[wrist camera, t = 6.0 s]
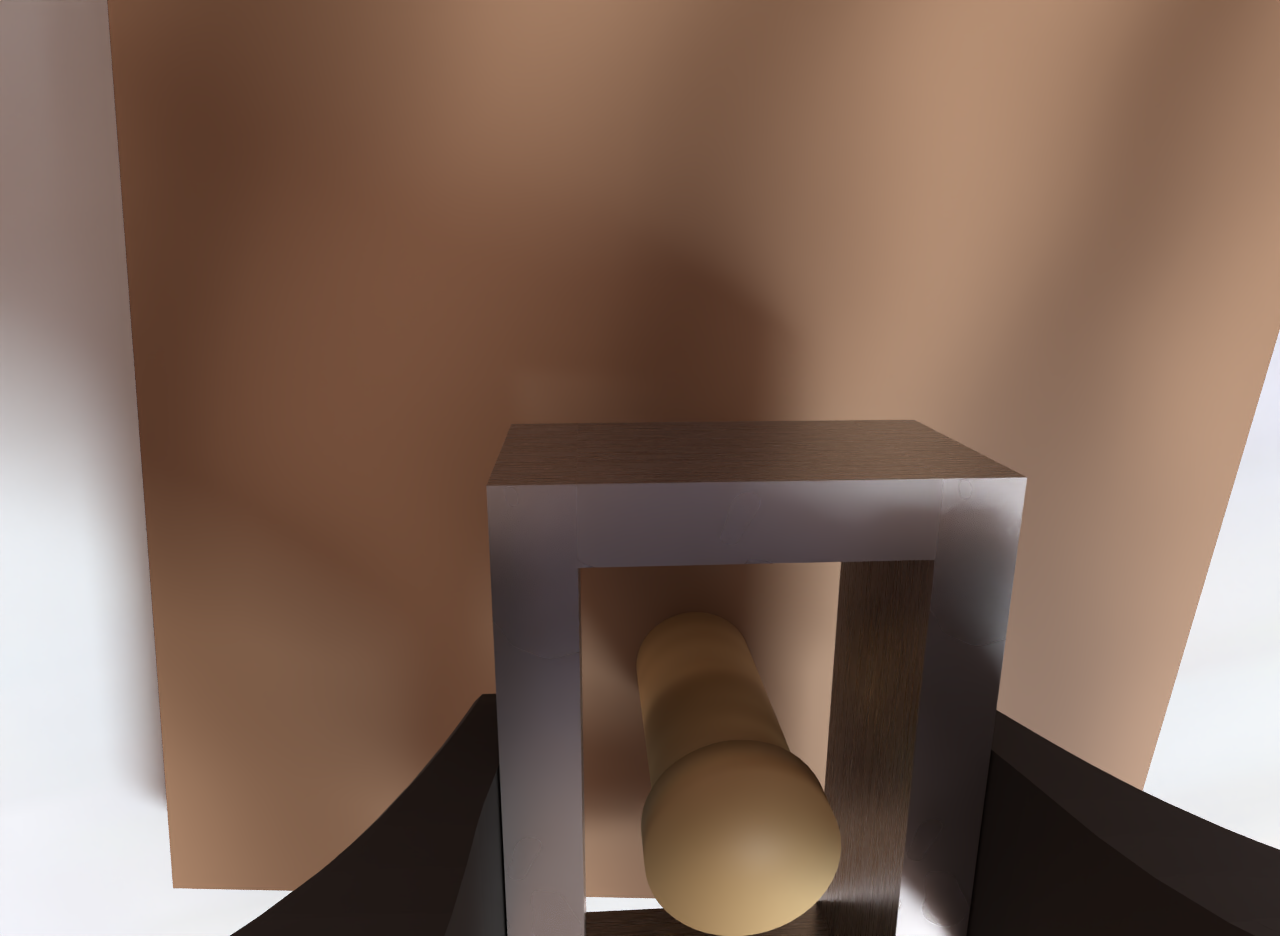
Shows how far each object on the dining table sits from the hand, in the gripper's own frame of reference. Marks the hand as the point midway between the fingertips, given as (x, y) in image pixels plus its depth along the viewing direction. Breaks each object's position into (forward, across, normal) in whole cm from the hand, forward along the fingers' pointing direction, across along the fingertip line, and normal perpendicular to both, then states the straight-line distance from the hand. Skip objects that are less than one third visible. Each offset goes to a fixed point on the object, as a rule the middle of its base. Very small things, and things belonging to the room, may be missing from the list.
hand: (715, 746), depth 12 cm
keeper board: (+4, -1, -7) cm, 8 cm away
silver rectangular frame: (0, 0, 0) cm, 1 cm away
